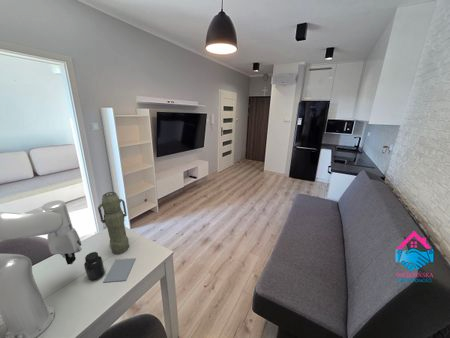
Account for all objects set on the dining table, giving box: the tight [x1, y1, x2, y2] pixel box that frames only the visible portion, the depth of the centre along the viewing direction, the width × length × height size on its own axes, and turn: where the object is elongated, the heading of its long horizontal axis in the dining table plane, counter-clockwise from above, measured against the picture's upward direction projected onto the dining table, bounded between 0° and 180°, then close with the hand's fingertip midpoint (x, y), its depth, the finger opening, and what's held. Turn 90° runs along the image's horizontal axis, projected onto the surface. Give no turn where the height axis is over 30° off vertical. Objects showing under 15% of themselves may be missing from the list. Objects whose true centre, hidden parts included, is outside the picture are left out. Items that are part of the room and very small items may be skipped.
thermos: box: [97, 191, 130, 256], centre depth 98 cm, size 9×12×35 cm
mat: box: [102, 257, 136, 284], centre depth 90 cm, size 13×10×1 cm
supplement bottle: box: [83, 251, 106, 282], centre depth 85 cm, size 7×7×12 cm
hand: (71, 261), depth 83 cm, fingers closed
